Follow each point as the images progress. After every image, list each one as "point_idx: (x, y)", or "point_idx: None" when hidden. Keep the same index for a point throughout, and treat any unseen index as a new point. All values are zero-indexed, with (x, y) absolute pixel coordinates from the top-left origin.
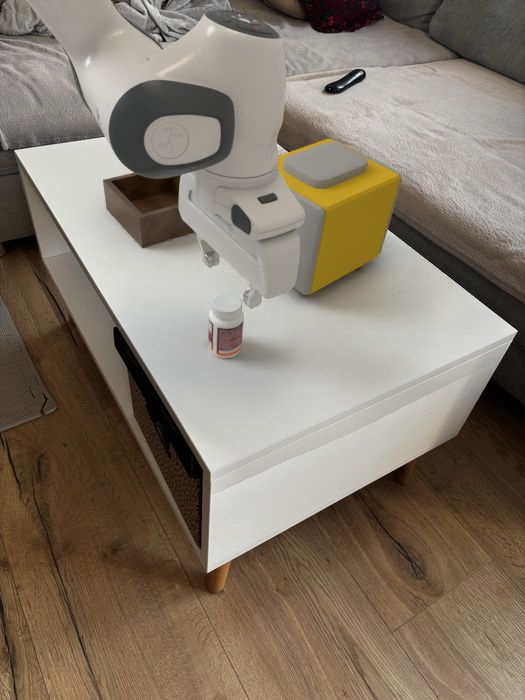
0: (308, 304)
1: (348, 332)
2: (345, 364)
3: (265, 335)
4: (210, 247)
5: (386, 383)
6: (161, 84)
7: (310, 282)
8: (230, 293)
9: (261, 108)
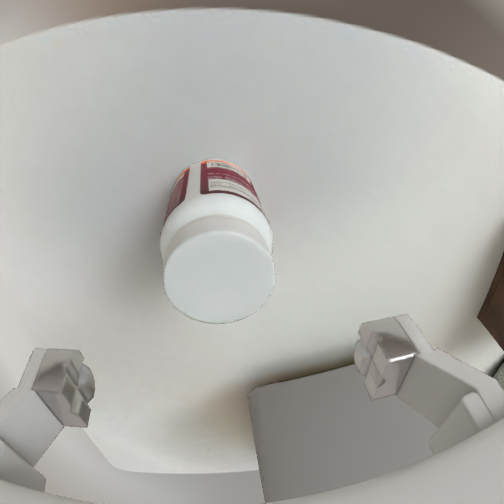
0: (246, 376)
1: (159, 390)
2: (94, 357)
3: None
4: (418, 391)
5: None
6: None
7: (252, 417)
8: (256, 309)
9: None
